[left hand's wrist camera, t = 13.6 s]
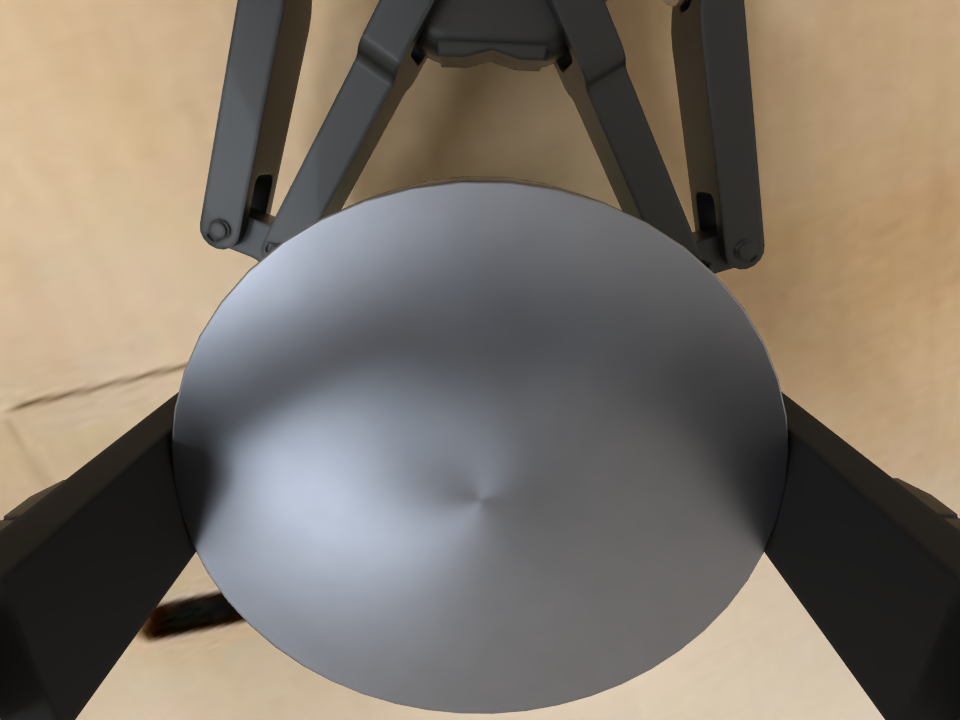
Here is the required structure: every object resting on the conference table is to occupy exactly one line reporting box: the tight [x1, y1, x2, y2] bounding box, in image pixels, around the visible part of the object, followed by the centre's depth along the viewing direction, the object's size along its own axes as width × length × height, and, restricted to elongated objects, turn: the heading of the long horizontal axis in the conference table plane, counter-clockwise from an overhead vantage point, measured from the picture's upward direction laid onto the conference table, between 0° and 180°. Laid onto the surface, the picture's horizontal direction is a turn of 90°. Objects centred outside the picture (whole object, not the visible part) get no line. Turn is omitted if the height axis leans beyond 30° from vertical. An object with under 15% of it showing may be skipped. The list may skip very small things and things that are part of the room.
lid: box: [171, 177, 789, 714], centre depth 11 cm, size 11×11×2 cm
